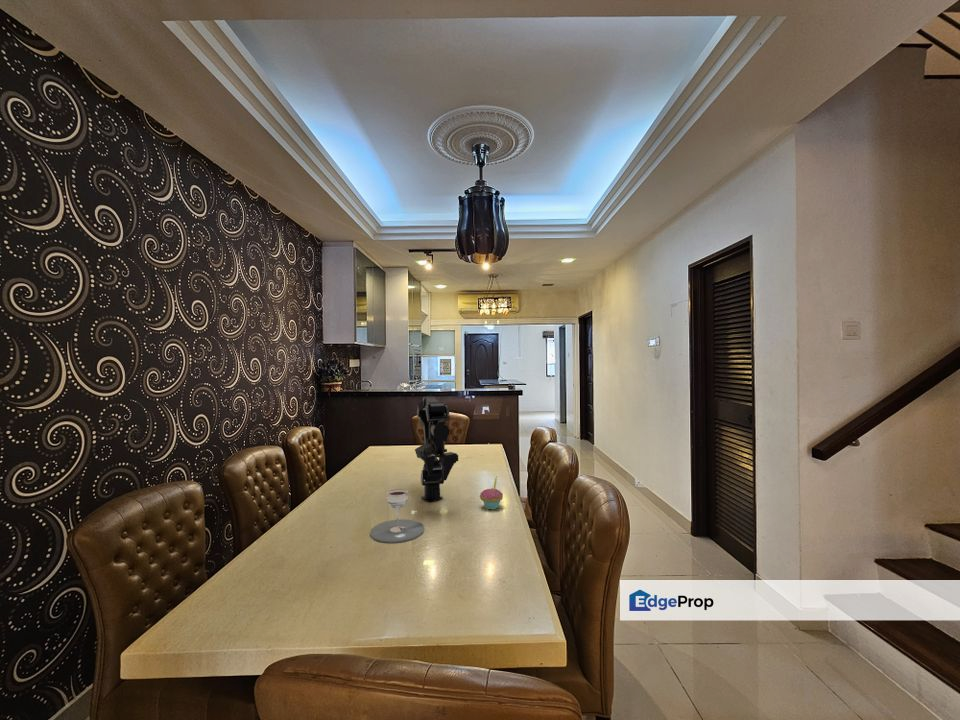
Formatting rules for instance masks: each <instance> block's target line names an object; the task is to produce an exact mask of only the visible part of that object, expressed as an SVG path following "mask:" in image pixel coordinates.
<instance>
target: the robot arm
mask: <svg viewBox="0 0 960 720" xmlns="http://www.w3.org/2000/svg"><path fill="white" fill-rule="evenodd" d="M416 415H417V416H416V417H417V418H418V423H419V424H420V425H421V426H422V427H423V437H424V443H423V444H422V445H419V446H418V447H417V448H415V449H414V452H415V454H416V457H417V458H418V459H421V461H423V467H422V470H421V473H420V484H421V486H422V487H424V489H423V491H424V493H423V494H424V495H423V496H420V498H422V500H424V501H426V500H427V501H426V502H428V501H429V502H428V503H432V501H433V502H435V501H434V500H436V501H439V500H438V499H440V500H442V498H443V499H444V497H443V496H441V487H440V486H441V485H443V484H444V483H445V481H447V479H448V477H449V475H450V472H451V470H452V469H453V467H454V465H455V464H456V463H457V462H459V455H458V454H457V453H456V452H453V451H449V452H448V448H446V447H445V444H446V442H447V441H448V437H449V436H450V432H451V431H450V428H449V426H448V425H447V424H446V422H449V421H450V418H451V414H450V410H449V407H448V404H446V402H445V401H444V400H443V401H439V400H437V398H436V396H433V395H431V396H430V395H425V396H423V398H422V400H421V401H420V402H419V403H418V404H417V410H416Z"/></svg>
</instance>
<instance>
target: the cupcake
mask: <svg viewBox="0 0 960 720" xmlns="http://www.w3.org/2000/svg"><path fill="white" fill-rule="evenodd" d="M497 477H498V476H496V477H495V478H494V483H493V487H491V488H487V489H484V490H483V491H481V492H480V495H479V499H480V500H481V501H482V502H483V505H484V508H485V509H486V508H487V509H496V508H498V509H499V506H500V503H501V501H502V500H503V497H504V496H503V492H501V490H498V489H497V488H496V487H497V480H498V479H497ZM487 509H486V510H487ZM496 510H497V509H496Z"/></svg>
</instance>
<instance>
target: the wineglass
mask: <svg viewBox="0 0 960 720" xmlns="http://www.w3.org/2000/svg"><path fill="white" fill-rule="evenodd" d="M408 492H409V491H408V490H407V489H404V488H396V489H390V490H388V491H387V492H386V494H387V497H386V502H387V504H388V506H389V507H390V508H392V509H394V510H395V512H396V513H395V514H396V520H397V526H396V527H393V528H391V529H390V531H391V532H402V531H404V530H405V529H406V528H405V527H402V526H398V521H399V520H400V518H399V517H400V516H399V513H400V512H399V511H400V510H401V508H404V506H405V505H407V504H408V500H409V495H408Z"/></svg>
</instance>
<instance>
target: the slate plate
mask: <svg viewBox="0 0 960 720" xmlns="http://www.w3.org/2000/svg"><path fill="white" fill-rule="evenodd" d="M396 526H397V519H393V520H392V519H391V520H387V521H384V522H380V523H378V524H376V525H375V526H373V527H372V528H371V529H370V537H372V538H373V539H372V538H371V539H372V540H374V541H375V540H376V542H378V541H379V542H378V543H382V542H383V544H401V543H406V542H410V541H413V540H416V539H418V538H419V537H421V536H422V535H424V531H425V525H424V524H423V523H421V522H419V521H418V520H414V519H400V518H399V521H398V526H402V527H405V528H406V529H405V530H404V531H402V532H391V531H390V529H391V528H393V527H396Z"/></svg>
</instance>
